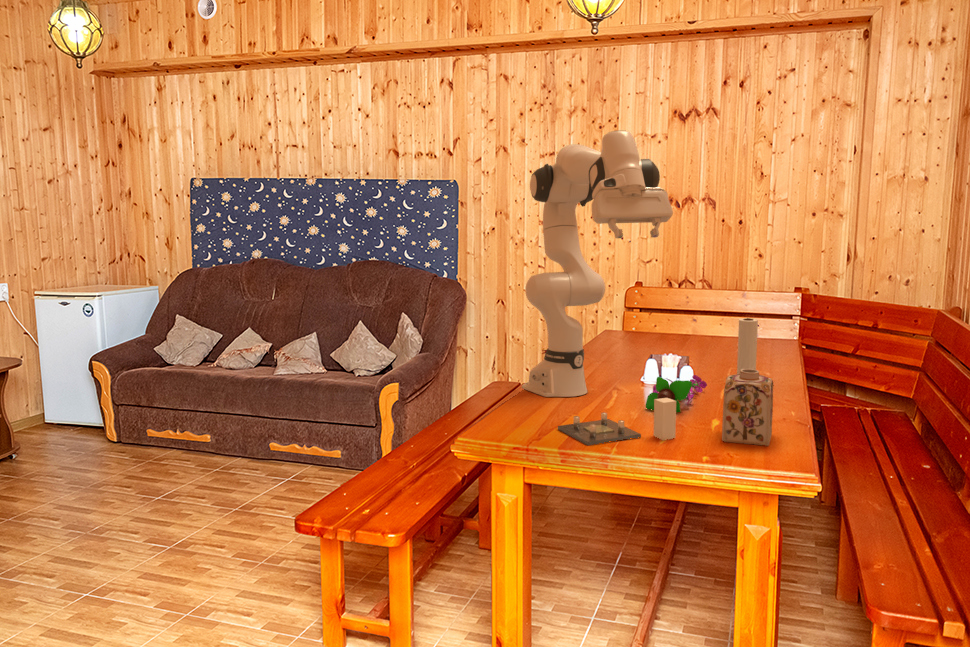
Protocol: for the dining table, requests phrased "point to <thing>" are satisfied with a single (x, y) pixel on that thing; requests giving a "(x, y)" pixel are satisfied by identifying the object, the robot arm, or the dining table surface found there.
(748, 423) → the decorative jar
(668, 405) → the post
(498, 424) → the dining table surface
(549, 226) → the robot arm
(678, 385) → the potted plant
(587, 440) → the grey square base plate
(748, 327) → the tan cylinder
